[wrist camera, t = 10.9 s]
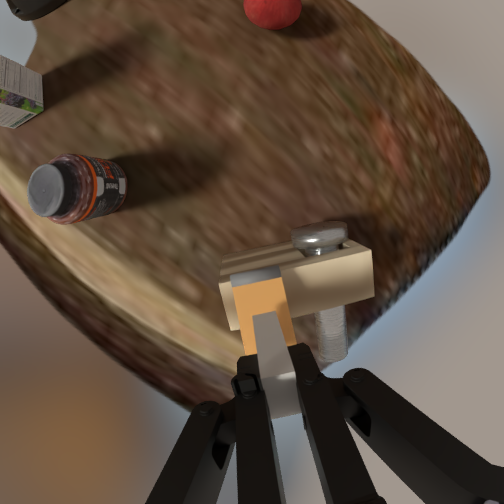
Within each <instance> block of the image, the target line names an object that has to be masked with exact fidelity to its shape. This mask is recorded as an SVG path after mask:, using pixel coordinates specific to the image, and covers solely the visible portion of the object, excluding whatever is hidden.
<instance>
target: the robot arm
mask: <svg viewBox="0 0 504 504" xmlns="http://www.w3.org/2000/svg"><path fill="white" fill-rule="evenodd" d="M6 1H7V3H8V6H9V8H10V9H11V11H12V13H13V14H14V15H15V16H16V17H18V18H19V19H21V20H23V21H30V20H34V19H37V18H39V17H42V16H44V15H46V14H47V13H49V12H51V11H52V10H54V9H55V8H57V7H58V6H60V5H61V4H62V3H64V2H65V1H66V0H6ZM252 319H253V326H254V334H255V341H256V348H257V354H252V355H247V356H242V357H240V358H239V360H238V362H237V375H236V376H234V377H233V379H232V380H231V385H232V388H233V391H234V394H235V397H234V398H233V399H232V400H230V401H229V402H227V403H224V404H221V405H219V404H218V403H217V402H214V401H205V402H202V403H199V404H198V405H196V406H195V408H194V409H193V410H192V412H191V415H190V416H189V418H188V420H187V422H186V424H185V426H184V428H183V430H182V433H181V434H180V436H179V438H178V440H177V442H176V444H175V446H174V448H173V450H172V452H171V454H170V456H169V458H168V460H167V462H166V464H165V466H164V468H163V470H162V472H161V474H160V476H159V478H158V480H157V482H156V483H155V486H154V487H153V490H152V491H151V493H150V495H149V497H148V499H147V501H146V503H145V504H216V502H217V499H218V496H219V493H220V490H221V487H222V484H223V481H224V478H225V475H226V471H227V468H228V465H229V462H230V459H231V455H232V452H233V449H234V446H235V442H236V456H237V484H238V485H237V486H238V504H286V500H285V494H284V488H283V482H282V476H281V471H280V465H279V459H278V453H277V447H276V442H275V435H274V430H273V425H272V421H271V419H275V418H280V417H285V416H290V415H294V414H298V413H302V417H303V423H304V429H305V430H306V432H307V436H308V439H309V443H310V447H311V450H312V453H313V457H314V461H315V464H316V468H317V471H318V475H319V479H320V482H321V486H322V489H323V493H324V497H325V500H326V504H387V503H386V501H385V499H384V498H383V497H381V496H379V495H378V494H377V492H376V489H375V487H374V485H373V483H372V480H371V478H370V476H369V473H368V471H367V469H366V466H365V465H364V462H363V460H362V457H361V455H360V453H359V450H358V448H357V446H356V444H355V441H354V439H353V437H352V435H351V432H350V430H349V428H348V426H347V424H346V422H347V423H348V424H349V425H350V426H351V427H352V428H353V429H354V430H355V431H356V433H357V434H358V435H359V436H360V437H361V438H362V439H363V440H364V441H365V442H366V443H367V444H368V445H369V446H370V448H371V449H372V450H373V451H374V452H375V453H376V454H377V455H378V456H379V457H380V458H381V459H382V460H383V461H384V462H385V463H386V464H387V465H388V466H389V468H390V469H391V470H392V471H393V472H394V473H395V474H396V475H397V476H398V477H399V478H400V479H401V480H402V481H403V482H404V483H405V484H406V485H407V486H408V487H409V488H410V489H411V490H412V491H413V492H414V493H415V494H416V495H417V496H418V497H419V498H420V499H421V500H422V501H423V502H424V503H425V504H504V467H500V466H496V465H492V464H490V463H489V462H488V461H486V460H485V459H483V458H482V457H481V456H479V455H478V454H477V453H475V452H474V451H473V450H471V449H470V448H469V447H467V446H466V445H465V444H463V443H462V442H460V441H459V440H458V439H457V438H455V437H454V436H452V435H451V434H450V433H449V432H447V431H446V430H445V429H443V428H442V427H441V426H439V425H438V424H437V423H436V422H434V421H433V420H431V419H430V418H429V417H428V416H426V415H425V414H424V413H422V412H421V411H420V410H419V409H417V408H416V407H415V406H413V405H412V404H411V403H409V402H408V401H407V400H406V399H404V398H403V397H402V396H401V395H399V394H398V393H397V392H395V391H394V390H393V389H392V388H390V387H389V386H388V385H386V384H385V383H384V382H383V381H381V380H380V379H379V378H378V377H376V376H375V375H374V374H373V373H371V372H370V371H369V370H366V369H363V368H355V369H351V370H349V371H348V372H346V373H345V374H344V376H343V378H328V377H326V376H324V374H323V373H321V372H320V370H319V368H318V365H317V363H316V361H315V359H314V357H313V354H312V352H311V350H310V348H309V346H308V345H306V344H305V343H300V344H295V345H291V346H287V345H286V342H285V339H284V336H283V333H282V330H281V327H280V323H279V320H278V317H277V314H276V311H272V312H268V313H263V314H258V315H253V316H252ZM344 418H345V419H344ZM345 420H346V421H345Z"/></svg>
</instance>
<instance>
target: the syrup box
mask: <svg viewBox="0 0 504 504" xmlns="http://www.w3.org/2000/svg"><path fill="white" fill-rule="evenodd" d="M43 110H44V109H43V91H42V75H40V74H39V73H37V72H34V71H32V70H30V69H29V68H26V67H24V66H22V65H20V64H18V63H16V62H14V61H12V60H10V59H8V58H6V57H4V56H1V55H0V126H5V127H10V128H17V127H18V126H19V125H21V124H23V123H24V122H26V121H27V120H29V119H31V118H32V117H34V116H35V115H37V114H38V113H40V112H42V111H43Z"/></svg>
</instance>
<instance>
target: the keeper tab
mask: <svg viewBox="0 0 504 504" xmlns="http://www.w3.org/2000/svg"><path fill="white" fill-rule="evenodd" d="M230 281H231V285H232V290H233V295H234V300H235V305H236V310H237V315H238V320H239V325H240V330H241V335H242V340H243V344H244V349H245V354H246V356H247V355H252V354H257V348H256V341H255V334H254V326H253V319H252V316H253V315H258V314H263V313H268V312H272V311H276V314H277V317H278V320H279V323H280V327H281V330H282V333H283V336H284V339H285V342H286V345H287V346H291V345H295V344H296V339H295V335H294V330H293V326H292V321H291V317H290V312H289V308H288V303H287V299H286V294H285V290H284V286H283V281H282V277H281V272H280V268H279V265H275V266H270V267H265V268H261V269H256V270H251V271H247V272H242V273H237V274H232V275H230Z"/></svg>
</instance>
